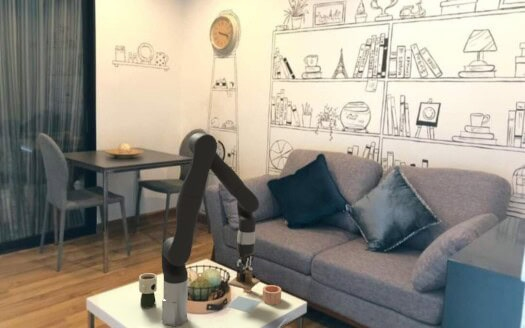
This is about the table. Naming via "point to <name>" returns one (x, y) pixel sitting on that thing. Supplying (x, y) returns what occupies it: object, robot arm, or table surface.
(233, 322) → the table surface
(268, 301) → the bowl
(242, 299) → the mat
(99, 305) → the table surface
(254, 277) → the grandmother figurine
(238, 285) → the lid
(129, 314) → the table surface
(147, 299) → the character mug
